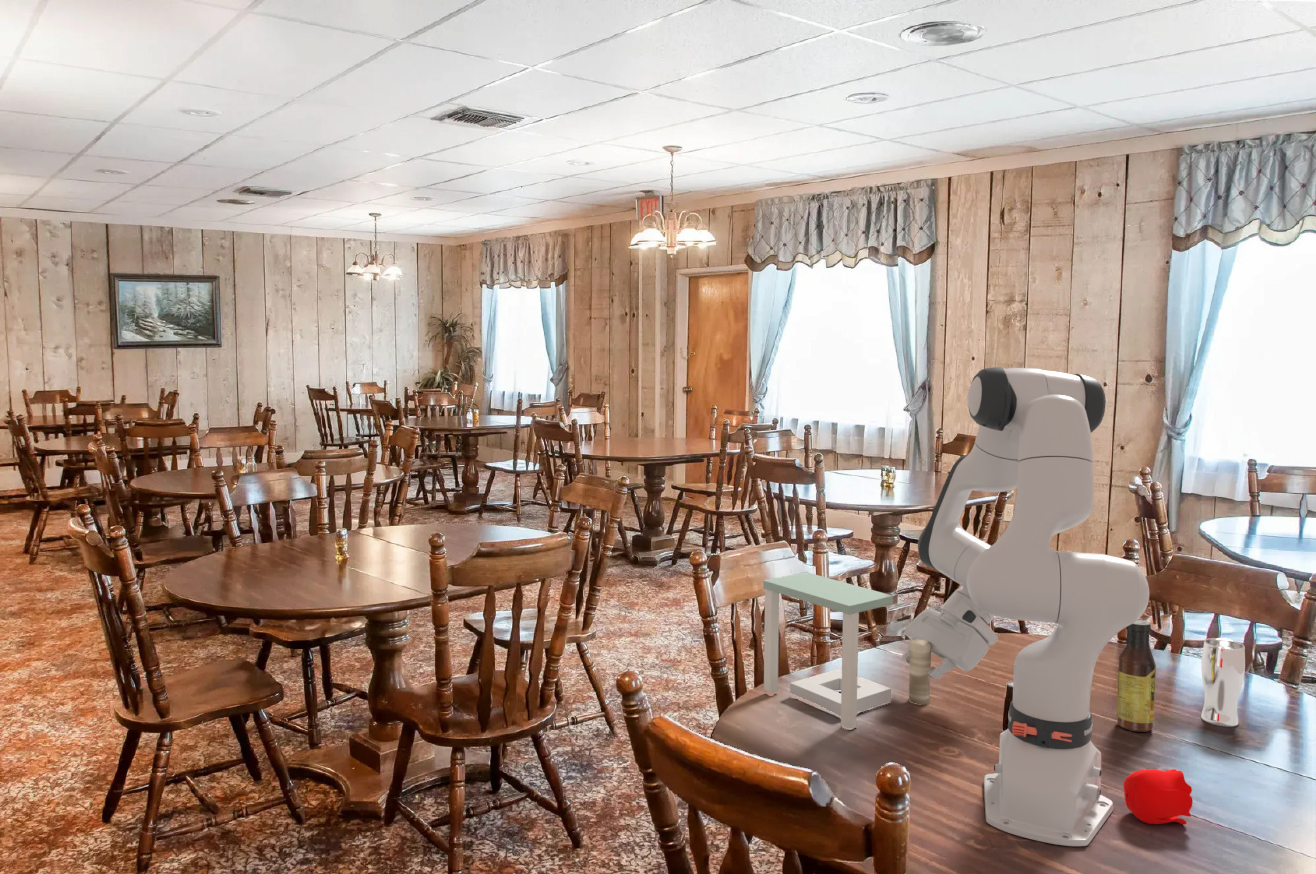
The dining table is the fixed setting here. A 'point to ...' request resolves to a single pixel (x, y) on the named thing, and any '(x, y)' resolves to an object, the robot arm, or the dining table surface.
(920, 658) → the birch peg
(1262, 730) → the dining table surface
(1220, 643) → the beer glass
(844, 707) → the small side table
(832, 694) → the socket plate
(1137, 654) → the sauce bottle
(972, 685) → the dining table surface
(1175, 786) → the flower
